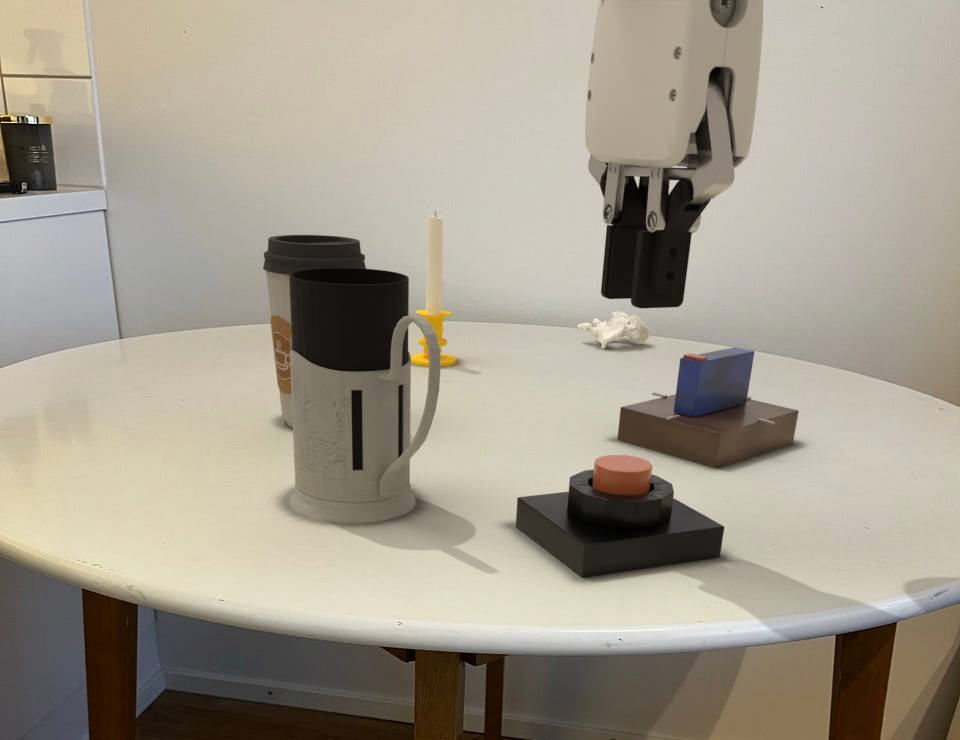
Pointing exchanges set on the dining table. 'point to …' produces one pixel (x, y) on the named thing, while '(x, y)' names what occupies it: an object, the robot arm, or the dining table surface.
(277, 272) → the coffee cup
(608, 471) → the button
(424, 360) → the candle
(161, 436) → the dining table surface
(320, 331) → the glass holder
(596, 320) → the vertebra bone
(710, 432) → the brown flat base
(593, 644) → the dining table surface
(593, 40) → the robot arm
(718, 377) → the blue battery-like brick
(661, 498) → the button box
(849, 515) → the dining table surface
